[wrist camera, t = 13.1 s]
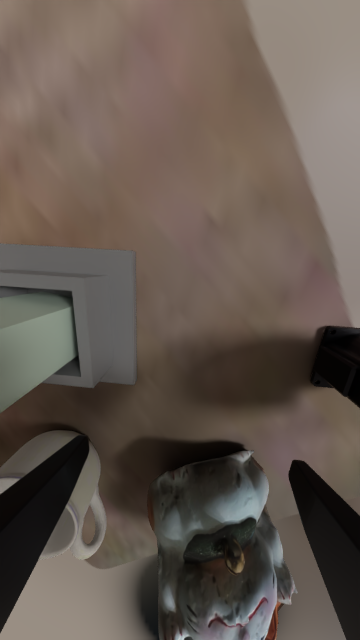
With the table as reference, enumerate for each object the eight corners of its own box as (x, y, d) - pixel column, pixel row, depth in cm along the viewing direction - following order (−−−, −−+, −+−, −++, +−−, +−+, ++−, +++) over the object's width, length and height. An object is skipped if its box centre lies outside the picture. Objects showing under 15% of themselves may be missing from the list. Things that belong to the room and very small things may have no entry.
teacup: (20, 436, 25) (-56, 509, 18) (74, 402, 23) (13, 469, 15) (87, 499, 28) (46, 586, 20) (141, 474, 26) (119, 562, 18)
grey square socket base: (135, 251, 17) (112, 245, 13) (136, 379, 21) (120, 412, 17) (-3, 244, 18) (-74, 235, 13) (23, 368, 22) (-25, 396, 17)
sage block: (90, 300, 18) (-142, 374, 6) (89, 346, 19) (-98, 486, 7) (41, 291, 18) (-291, 344, 6) (44, 337, 20) (-219, 460, 7)
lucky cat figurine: (277, 443, 22) (388, 691, 12) (236, 466, 30) (282, 628, 20) (153, 456, 19) (160, 826, 8) (142, 478, 26) (139, 685, 16)
